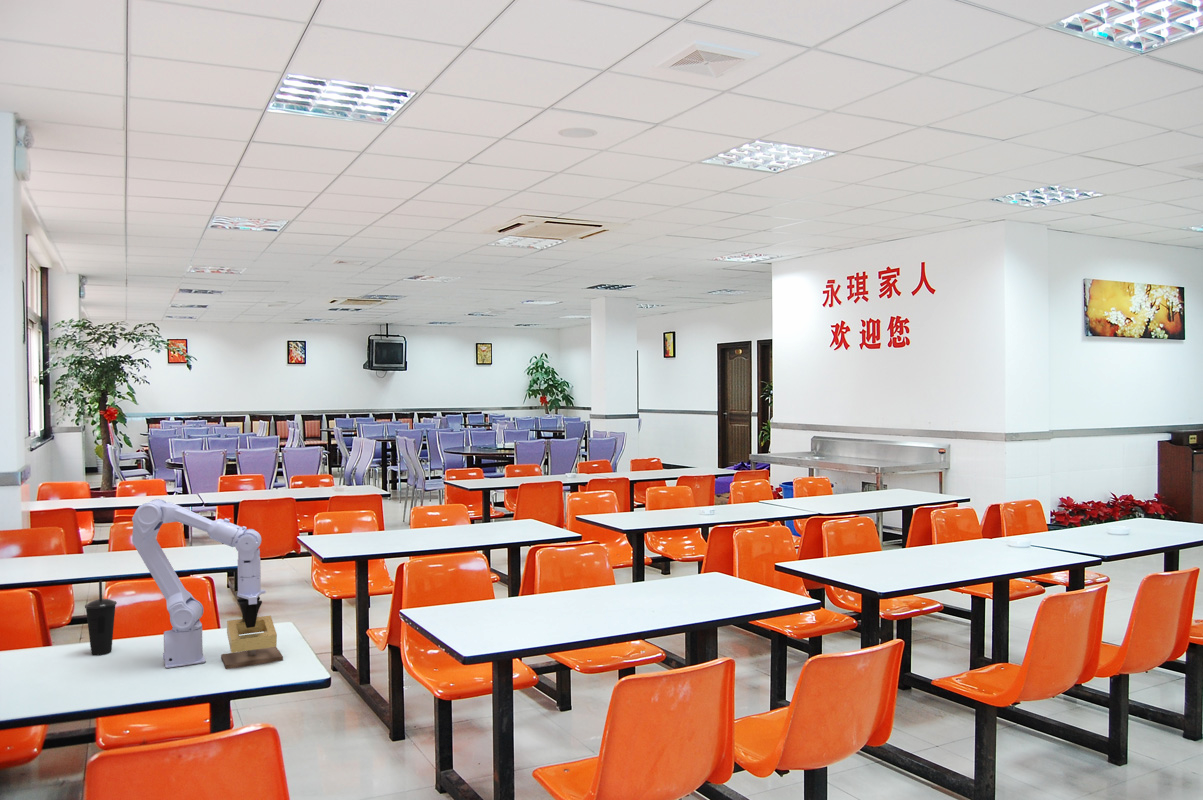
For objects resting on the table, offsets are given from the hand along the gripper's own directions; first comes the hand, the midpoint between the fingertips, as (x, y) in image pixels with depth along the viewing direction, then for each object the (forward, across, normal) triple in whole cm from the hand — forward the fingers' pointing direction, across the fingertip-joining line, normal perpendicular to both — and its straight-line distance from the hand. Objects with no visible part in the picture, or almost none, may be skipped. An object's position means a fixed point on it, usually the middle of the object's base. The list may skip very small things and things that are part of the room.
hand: (249, 625), depth 234 cm
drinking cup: (+9, +26, +35) cm, 45 cm away
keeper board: (+8, -2, 0) cm, 9 cm away
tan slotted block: (+3, -4, 0) cm, 5 cm away
